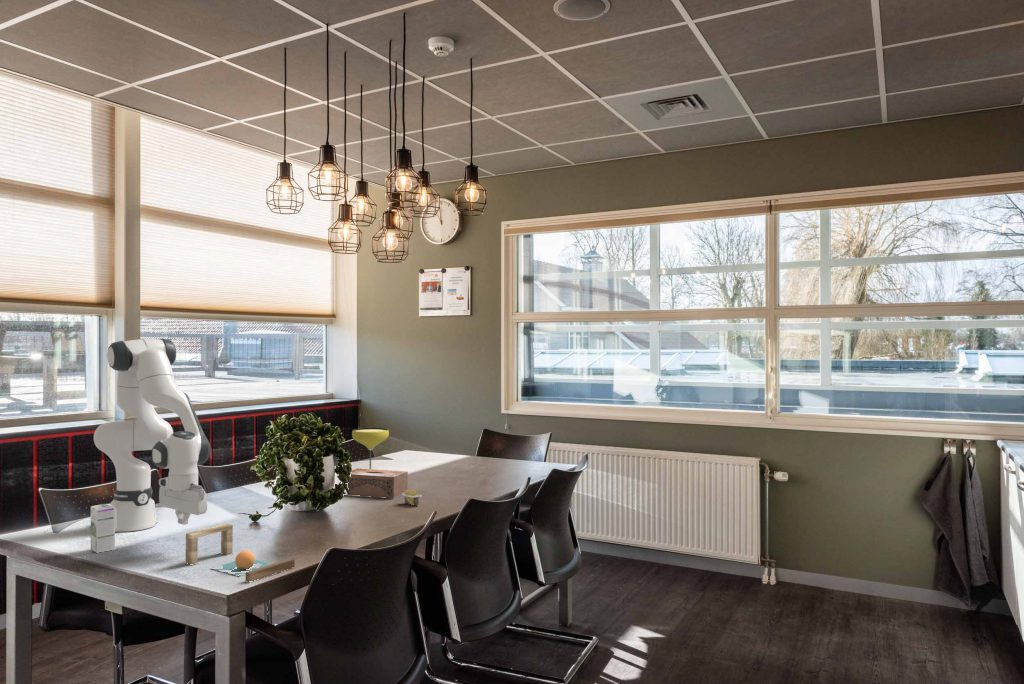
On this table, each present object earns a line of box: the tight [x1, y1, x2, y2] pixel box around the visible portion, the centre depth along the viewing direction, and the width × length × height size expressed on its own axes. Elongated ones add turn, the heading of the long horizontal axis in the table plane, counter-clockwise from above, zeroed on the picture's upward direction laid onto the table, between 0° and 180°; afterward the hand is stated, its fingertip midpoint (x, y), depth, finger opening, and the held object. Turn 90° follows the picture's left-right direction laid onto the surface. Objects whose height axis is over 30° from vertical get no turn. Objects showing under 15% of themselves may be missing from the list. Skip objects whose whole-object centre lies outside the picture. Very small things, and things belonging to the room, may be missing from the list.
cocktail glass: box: [351, 427, 390, 469], centre depth 353 cm, size 18×18×25 cm
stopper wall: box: [245, 557, 295, 582], centre depth 207 cm, size 2×16×2 cm, turn 149°
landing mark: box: [213, 559, 272, 577], centre depth 213 cm, size 13×13×1 cm
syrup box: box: [90, 503, 116, 554], centre depth 230 cm, size 6×6×14 cm
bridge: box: [185, 523, 234, 565], centre depth 222 cm, size 3×14×9 cm, turn 149°
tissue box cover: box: [348, 468, 409, 499], centre depth 320 cm, size 26×14×10 cm, turn 74°
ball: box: [234, 550, 256, 570], centre depth 211 cm, size 6×6×6 cm
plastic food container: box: [401, 489, 422, 506], centre depth 298 cm, size 12×18×7 cm, turn 54°
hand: (182, 523), depth 230 cm, fingers closed
